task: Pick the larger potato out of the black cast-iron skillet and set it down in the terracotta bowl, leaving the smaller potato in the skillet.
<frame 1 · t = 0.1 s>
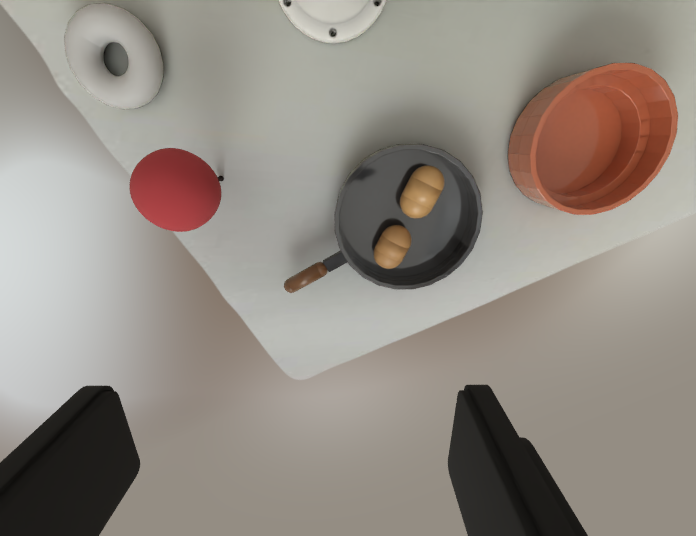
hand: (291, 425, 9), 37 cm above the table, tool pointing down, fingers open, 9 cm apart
donut: (126, 63, 38), on the table
potato: (418, 190, 42), point 1 cm above the table, touching skillet
bowl: (567, 144, 41), on the table
skillet handle: (315, 272, 44), point 3 cm above the table
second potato: (390, 242, 45), point 1 cm above the table, touching skillet
lollipop: (220, 178, 43), on the table
skillet: (403, 216, 44), on the table
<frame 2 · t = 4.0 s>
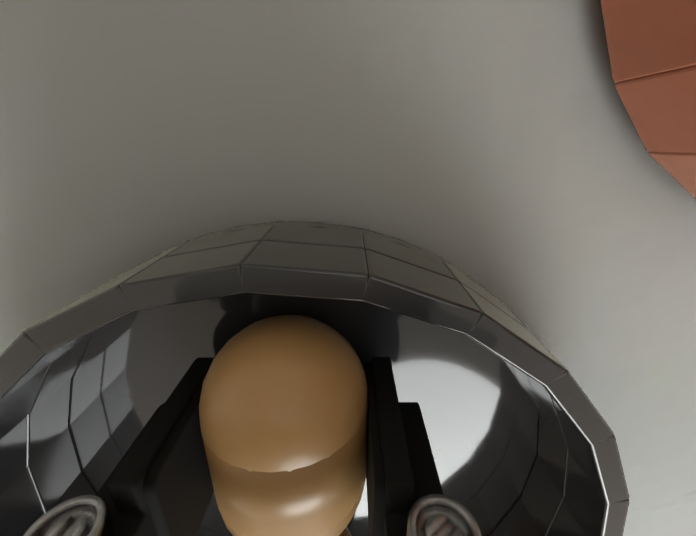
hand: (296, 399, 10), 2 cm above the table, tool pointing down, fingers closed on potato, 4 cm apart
potato: (300, 378, 11), point 1 cm above the table, touching gripper, skillet
skillet: (308, 448, 13), on the table
when the fingers open (2 cm above the table, at t = 11.7 s): potato stays where it is, resting on bowl.
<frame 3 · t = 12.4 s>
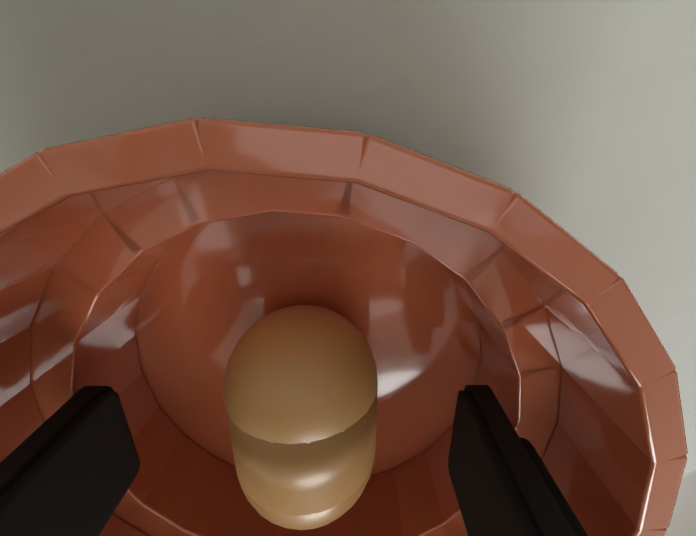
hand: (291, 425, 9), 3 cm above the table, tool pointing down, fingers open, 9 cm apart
potato: (312, 366, 12), point 1 cm above the table, touching bowl
bowl: (311, 355, 12), on the table
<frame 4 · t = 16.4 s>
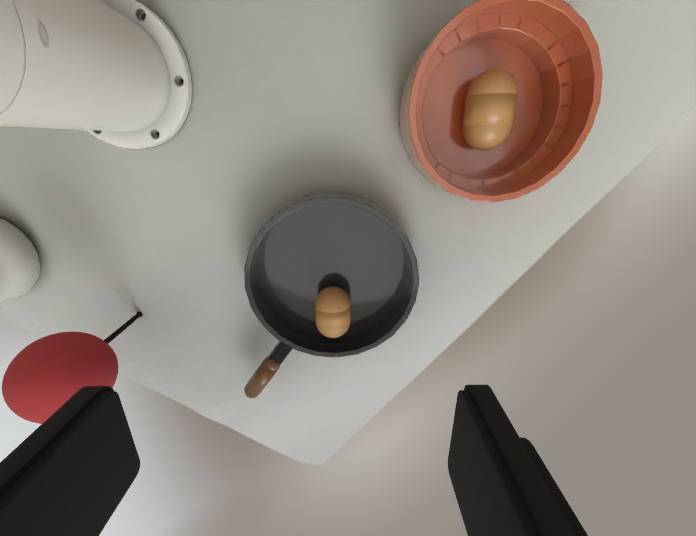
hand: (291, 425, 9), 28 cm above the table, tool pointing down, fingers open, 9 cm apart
donut: (4, 252, 37), on the table
potato: (480, 113, 31), point 1 cm above the table, touching bowl
bowl: (476, 112, 32), on the table
skillet handle: (268, 368, 39), point 3 cm above the table
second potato: (333, 303, 39), point 1 cm above the table, touching skillet
lollipop: (139, 313, 40), on the table
skillet: (333, 271, 38), on the table
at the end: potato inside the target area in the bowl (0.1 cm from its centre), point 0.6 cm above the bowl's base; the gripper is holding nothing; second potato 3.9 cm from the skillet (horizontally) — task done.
